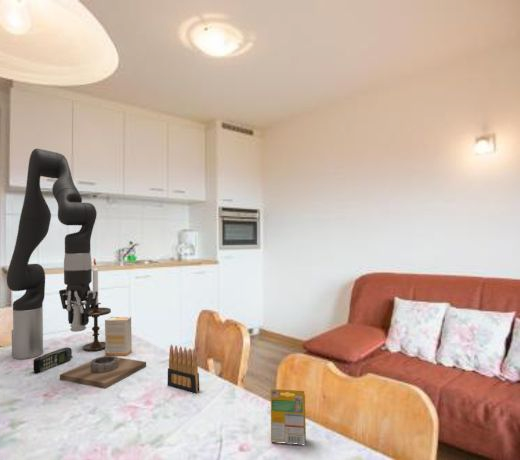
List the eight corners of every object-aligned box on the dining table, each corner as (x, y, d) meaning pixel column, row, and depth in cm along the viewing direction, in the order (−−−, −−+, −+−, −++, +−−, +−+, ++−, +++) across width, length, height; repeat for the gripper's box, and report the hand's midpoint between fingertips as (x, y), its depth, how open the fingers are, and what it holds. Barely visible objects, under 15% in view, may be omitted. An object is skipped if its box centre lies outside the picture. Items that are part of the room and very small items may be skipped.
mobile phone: (37, 360, 116) (76, 344, 130) (30, 359, 117) (69, 343, 131) (38, 375, 117) (76, 358, 131) (31, 374, 118) (70, 357, 132)
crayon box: (305, 438, 80) (305, 385, 80) (305, 446, 77) (304, 391, 77) (272, 435, 81) (272, 383, 81) (270, 443, 78) (270, 389, 78)
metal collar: (85, 370, 115) (85, 362, 115) (104, 362, 122) (104, 354, 122) (105, 374, 112) (105, 366, 112) (123, 365, 120) (123, 357, 120)
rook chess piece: (89, 328, 113) (89, 302, 113) (77, 332, 108) (77, 305, 108) (78, 327, 114) (78, 301, 114) (66, 331, 110) (66, 304, 110)
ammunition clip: (199, 391, 103) (199, 348, 103) (195, 393, 102) (195, 350, 102) (171, 383, 109) (171, 343, 109) (167, 385, 107) (166, 344, 107)
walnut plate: (59, 379, 112) (59, 374, 112) (104, 359, 129) (104, 355, 129) (105, 388, 106) (105, 383, 106) (146, 366, 122) (146, 361, 122)
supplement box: (132, 351, 137) (132, 316, 137) (126, 355, 133) (126, 319, 133) (111, 350, 138) (111, 316, 138) (104, 355, 133) (104, 319, 133)
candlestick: (96, 353, 135) (95, 259, 135) (73, 350, 139) (72, 258, 139) (117, 345, 145) (116, 256, 145) (96, 342, 149) (95, 256, 149)
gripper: (50, 268, 111) (50, 324, 111) (84, 270, 105) (85, 329, 105) (71, 265, 117) (72, 319, 118) (105, 267, 112) (105, 323, 112)
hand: (78, 323), depth 111 cm, fingers closed on rook chess piece, 4 cm apart
